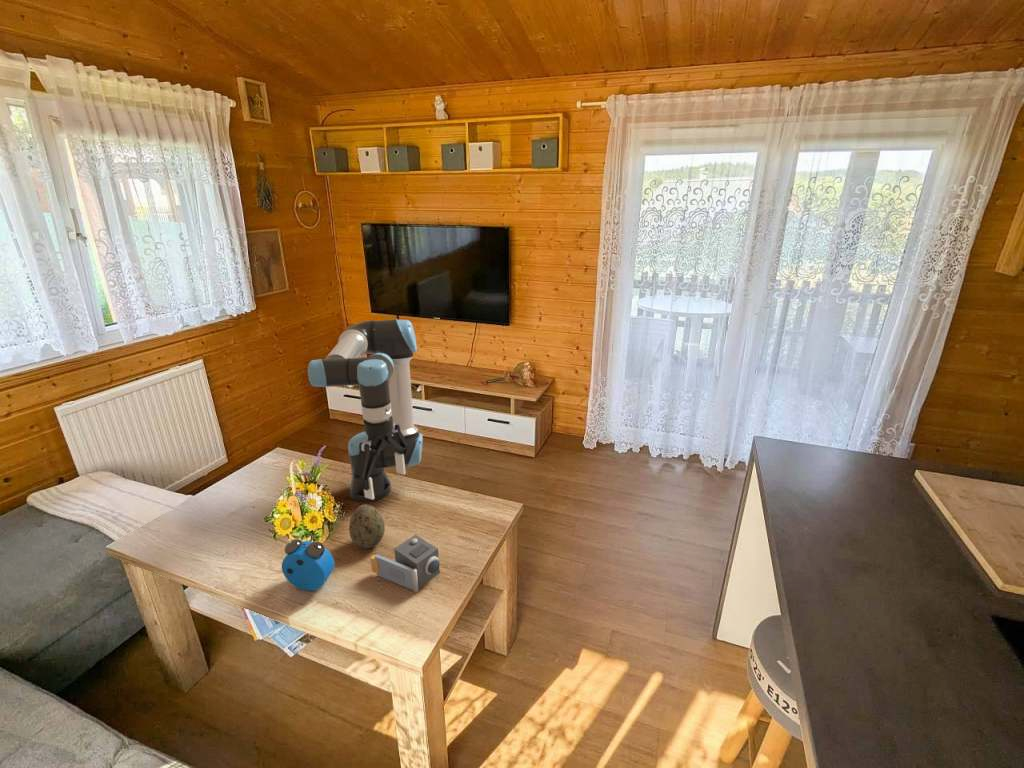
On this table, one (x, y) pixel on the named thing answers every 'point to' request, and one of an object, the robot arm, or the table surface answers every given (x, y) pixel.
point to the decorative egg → (366, 526)
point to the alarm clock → (307, 564)
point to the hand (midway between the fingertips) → (386, 485)
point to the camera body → (419, 558)
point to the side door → (395, 572)
